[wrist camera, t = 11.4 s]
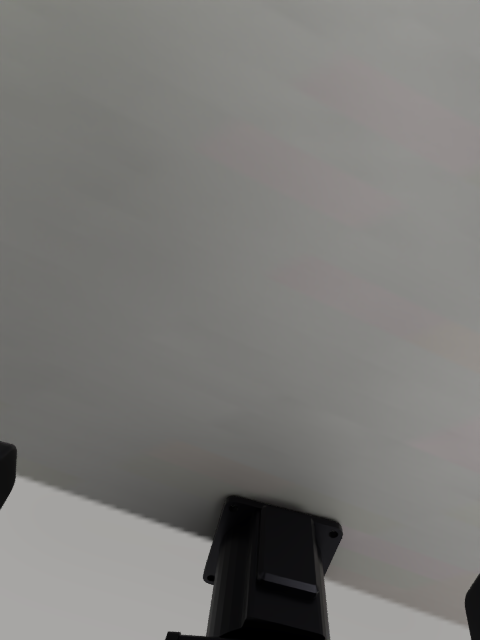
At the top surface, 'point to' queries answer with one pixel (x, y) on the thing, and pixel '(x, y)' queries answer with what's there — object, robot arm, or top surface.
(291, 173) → the top surface
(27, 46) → the top surface
